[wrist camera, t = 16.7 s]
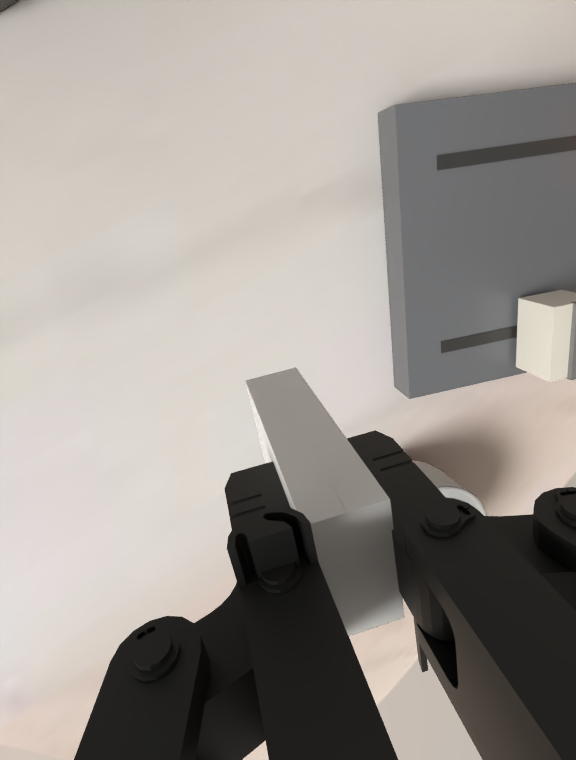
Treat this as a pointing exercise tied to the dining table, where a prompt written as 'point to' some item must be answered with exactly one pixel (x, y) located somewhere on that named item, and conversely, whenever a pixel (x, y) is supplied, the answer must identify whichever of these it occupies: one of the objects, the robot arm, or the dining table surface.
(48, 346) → the dining table surface
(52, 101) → the dining table surface
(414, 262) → the console
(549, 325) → the block
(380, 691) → the dining table surface
